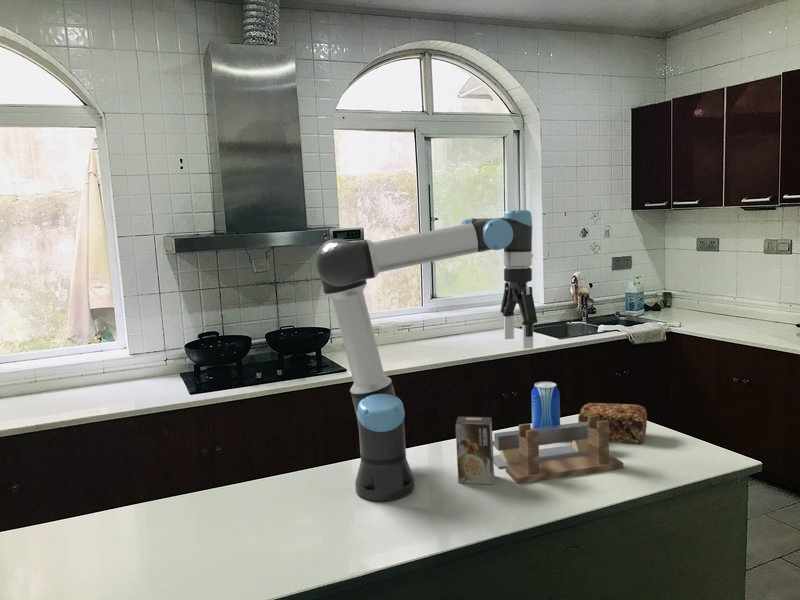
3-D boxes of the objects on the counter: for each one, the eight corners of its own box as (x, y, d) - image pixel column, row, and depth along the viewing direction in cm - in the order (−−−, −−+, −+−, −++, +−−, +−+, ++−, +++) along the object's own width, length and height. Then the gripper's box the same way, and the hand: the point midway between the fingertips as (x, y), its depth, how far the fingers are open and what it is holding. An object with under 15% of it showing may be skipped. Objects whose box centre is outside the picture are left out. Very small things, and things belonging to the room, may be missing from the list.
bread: (647, 434, 194) (647, 402, 192) (642, 446, 185) (643, 413, 183) (585, 427, 203) (584, 397, 201) (577, 438, 193) (577, 406, 192)
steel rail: (498, 450, 176) (498, 436, 175) (494, 447, 179) (494, 433, 178) (598, 437, 182) (598, 423, 181) (592, 434, 185) (592, 420, 184)
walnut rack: (517, 483, 164) (516, 434, 162) (505, 471, 172) (504, 424, 170) (623, 468, 170) (623, 421, 168) (607, 457, 178) (607, 412, 176)
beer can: (560, 440, 192) (560, 388, 190) (532, 439, 194) (531, 388, 192) (559, 430, 201) (558, 380, 198) (532, 430, 202) (531, 380, 200)
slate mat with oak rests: (498, 468, 174) (498, 454, 173) (488, 457, 182) (488, 444, 181) (606, 453, 180) (606, 440, 180) (591, 444, 188) (591, 430, 188)
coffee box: (495, 475, 170) (493, 416, 168) (492, 485, 164) (490, 424, 161) (460, 473, 172) (458, 415, 170) (457, 483, 166) (454, 423, 164)
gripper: (550, 270, 164) (550, 351, 166) (513, 263, 188) (513, 334, 191) (522, 271, 162) (523, 353, 165) (489, 264, 186) (489, 336, 189)
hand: (518, 343), depth 178 cm, fingers open, 13 cm apart
